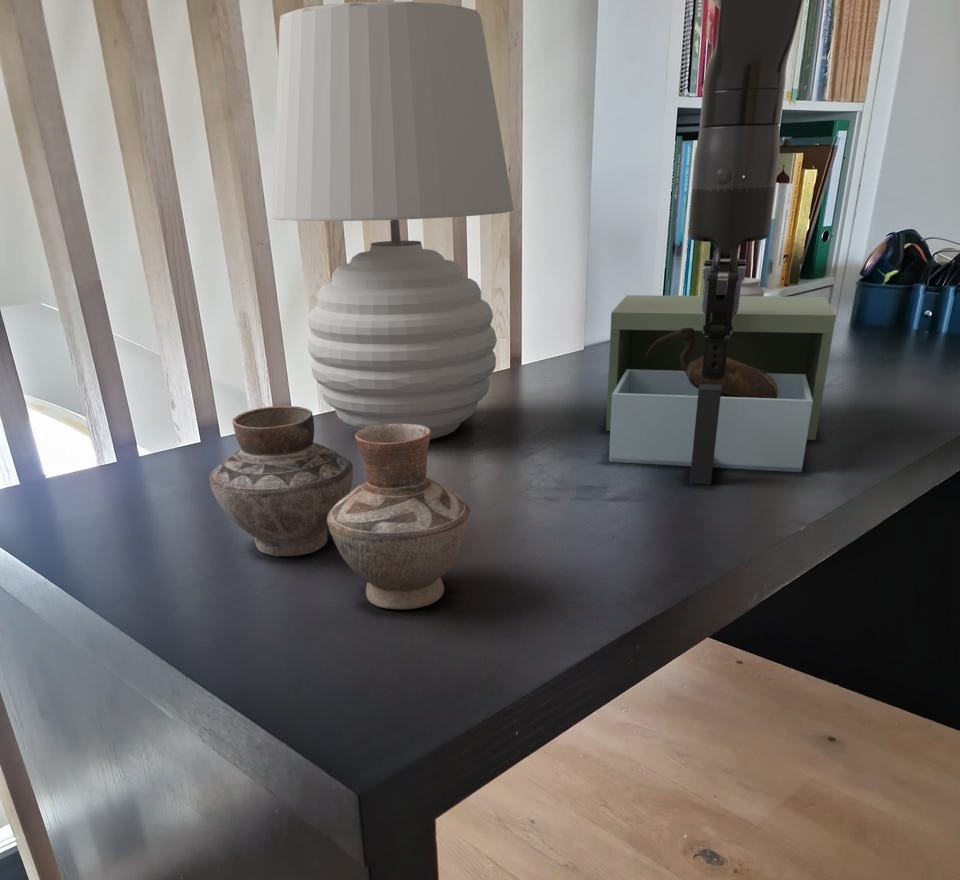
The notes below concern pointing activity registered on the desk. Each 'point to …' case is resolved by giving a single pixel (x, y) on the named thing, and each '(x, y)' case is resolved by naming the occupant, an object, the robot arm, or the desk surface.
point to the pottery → (345, 502)
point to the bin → (708, 424)
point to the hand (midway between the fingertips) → (713, 371)
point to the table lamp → (392, 200)
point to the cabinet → (754, 341)
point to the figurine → (737, 375)
